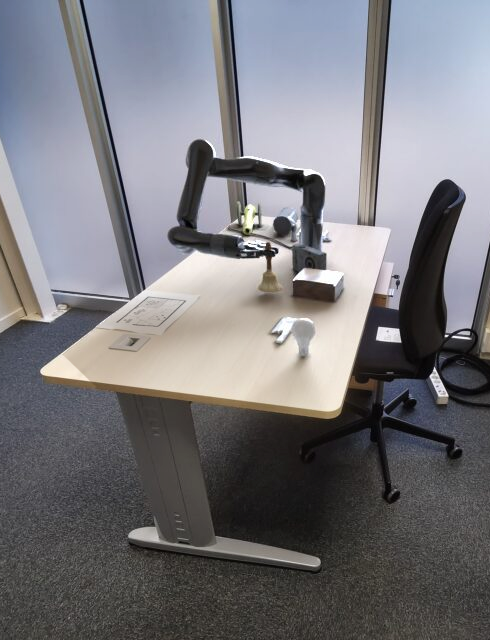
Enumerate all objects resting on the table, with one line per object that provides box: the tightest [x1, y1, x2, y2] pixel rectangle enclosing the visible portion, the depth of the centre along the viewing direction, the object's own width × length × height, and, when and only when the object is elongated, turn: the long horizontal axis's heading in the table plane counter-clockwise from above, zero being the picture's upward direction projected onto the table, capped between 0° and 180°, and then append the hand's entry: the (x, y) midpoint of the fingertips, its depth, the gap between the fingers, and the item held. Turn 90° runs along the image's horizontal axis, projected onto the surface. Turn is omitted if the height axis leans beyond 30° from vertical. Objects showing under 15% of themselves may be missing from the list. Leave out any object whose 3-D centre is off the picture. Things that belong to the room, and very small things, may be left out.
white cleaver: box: [270, 316, 298, 344], centre depth 132 cm, size 5×15×1 cm, turn 168°
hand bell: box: [257, 241, 283, 294], centre depth 149 cm, size 8×8×16 cm
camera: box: [291, 242, 328, 273], centre depth 170 cm, size 16×4×10 cm, turn 47°
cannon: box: [236, 200, 263, 236], centre depth 217 cm, size 25×12×11 cm, turn 6°
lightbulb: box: [290, 317, 316, 357], centre depth 118 cm, size 6×6×11 cm
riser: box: [292, 268, 345, 303], centre depth 156 cm, size 15×13×6 cm
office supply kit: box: [272, 206, 331, 243], centre depth 220 cm, size 40×28×9 cm
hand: (276, 252), depth 146 cm, fingers closed on hand bell, 2 cm apart
